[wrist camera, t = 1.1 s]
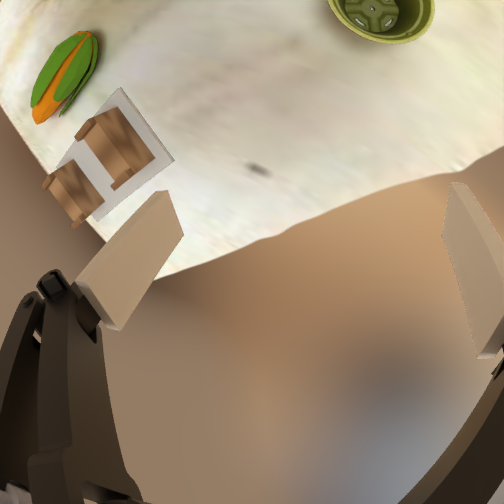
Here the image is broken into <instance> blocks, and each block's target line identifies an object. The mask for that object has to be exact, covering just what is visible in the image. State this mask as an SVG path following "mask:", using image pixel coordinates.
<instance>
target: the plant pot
mask: <svg viewBox="0 0 504 504" xmlns="http://www.w3.org/2000/svg"><path fill="white" fill-rule="evenodd" d="M328 2H329V5H330V7H331V9H332V11H333V12H334V14H335V15H336V16H337V18H338V19H339V20H340V21H341V22H342V23H343V24H344V25H345V26H346V27H347V28H349V29H350V30H352V31H353V32H355V33H356V34H358V35H360V36H362V37H364V38H366V39H369V40H372V41H375V42H379V43H385V44H403V43H407V42H410V41H413V40H415V39H417V38H419V37H420V36H422V35H423V34H424V33H425V32H426V31H427V30H428V28H429V27H430V25H431V23H432V21H433V17H434V12H435V4H434V0H389V1H387V0H328ZM370 7H374V8H375V10H374V11H372V10H371V9H370ZM355 18H357V19H358V20H360V21H361V22H362V23H364V24H365V26H363V25H361V24H360V23H358V22H357V21H356V20H355ZM391 18H392V22H391V24H390V25H389V26H385V24H386V23H387V22H388V21H389V20H390V19H391Z"/></svg>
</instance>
